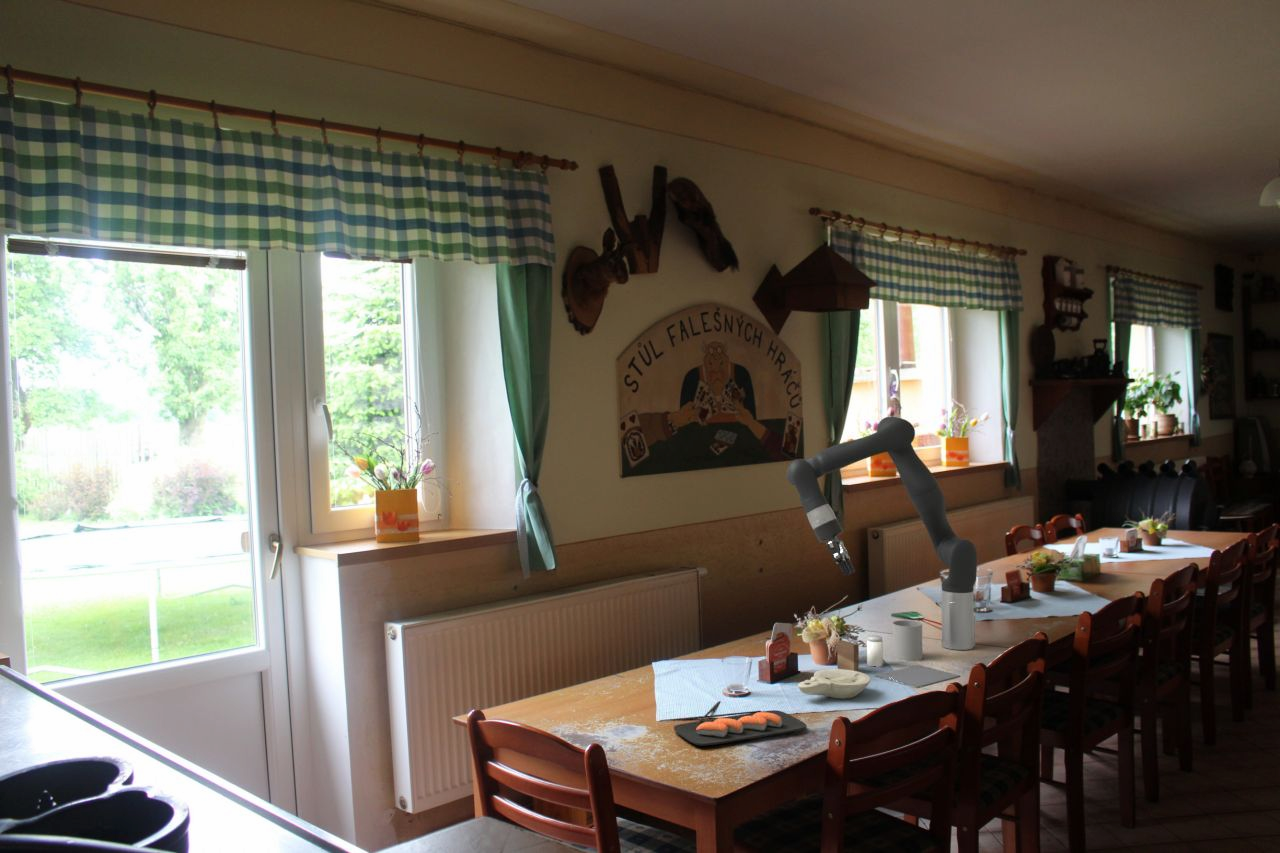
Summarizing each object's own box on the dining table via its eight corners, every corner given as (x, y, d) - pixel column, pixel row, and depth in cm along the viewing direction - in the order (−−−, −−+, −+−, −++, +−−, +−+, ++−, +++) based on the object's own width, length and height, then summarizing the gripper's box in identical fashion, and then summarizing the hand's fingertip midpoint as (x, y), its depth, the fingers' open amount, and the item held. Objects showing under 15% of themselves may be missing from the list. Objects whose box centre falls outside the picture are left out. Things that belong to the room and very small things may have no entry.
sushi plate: (697, 754, 212) (697, 736, 212) (641, 714, 240) (641, 699, 240) (812, 734, 224) (812, 718, 224) (746, 699, 252) (746, 684, 251)
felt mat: (918, 665, 280) (918, 664, 280) (960, 676, 269) (960, 675, 269) (875, 676, 270) (875, 675, 270) (916, 688, 258) (916, 686, 258)
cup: (923, 661, 285) (923, 627, 284) (893, 660, 286) (893, 626, 286) (920, 654, 293) (920, 620, 293) (892, 653, 294) (892, 619, 294)
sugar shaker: (874, 662, 284) (874, 634, 284) (886, 665, 281) (886, 637, 281) (863, 664, 282) (863, 636, 282) (875, 667, 278) (875, 639, 278)
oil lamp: (820, 711, 240) (820, 690, 240) (782, 696, 252) (781, 677, 252) (882, 697, 251) (882, 677, 251) (842, 683, 263) (842, 665, 263)
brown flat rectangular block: (842, 668, 278) (842, 640, 278) (858, 673, 273) (858, 644, 273) (837, 669, 277) (837, 641, 277) (853, 674, 272) (853, 645, 272)
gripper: (832, 517, 281) (858, 569, 277) (839, 517, 295) (864, 567, 291) (808, 528, 283) (834, 580, 279) (817, 528, 297) (841, 578, 293)
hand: (849, 573), depth 285 cm, fingers open, 8 cm apart
